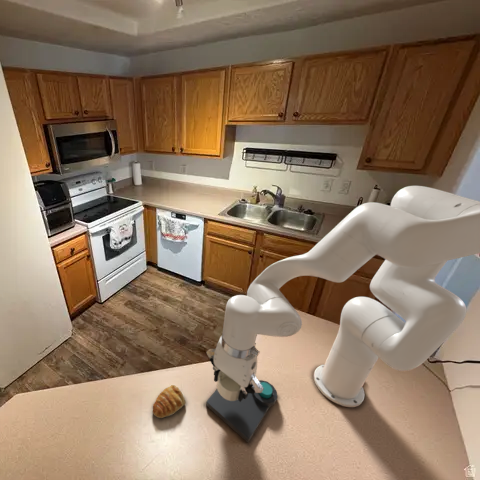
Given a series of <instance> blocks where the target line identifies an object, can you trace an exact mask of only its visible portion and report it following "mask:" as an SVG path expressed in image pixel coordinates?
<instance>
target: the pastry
mask: <svg viewBox="0 0 480 480" xmlns="http://www.w3.org/2000/svg"><path fill="white" fill-rule="evenodd" d="M186 403H187V402H186V398H185V396H184V394H183V393H182V391H181V390H180V388H179V387H178V386H176V385H174V384H171V385H170V386H168V387H166V388H164V389H163V391H161V392H160V393H159V394H158V395H157V398H156V399H155V401H154V403H153V404H152V414H153V415H154V416H155V417H157V418H158V419H163V418H165V417H169V416H173V415H174V414H175V413H176V412H178V411H179V410H180V409H182V408H183V407H184V406H185V405H186Z"/></svg>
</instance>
